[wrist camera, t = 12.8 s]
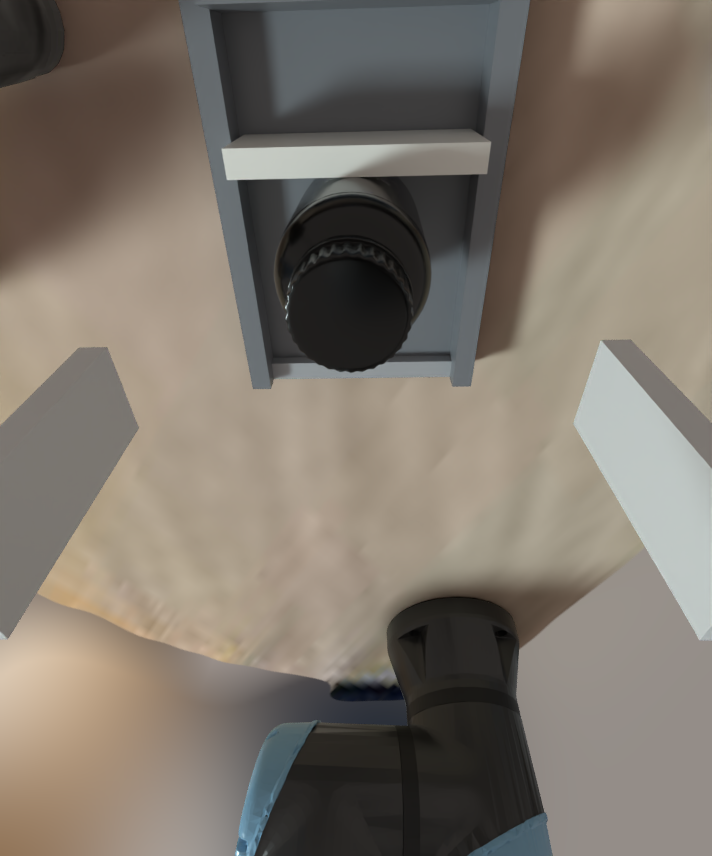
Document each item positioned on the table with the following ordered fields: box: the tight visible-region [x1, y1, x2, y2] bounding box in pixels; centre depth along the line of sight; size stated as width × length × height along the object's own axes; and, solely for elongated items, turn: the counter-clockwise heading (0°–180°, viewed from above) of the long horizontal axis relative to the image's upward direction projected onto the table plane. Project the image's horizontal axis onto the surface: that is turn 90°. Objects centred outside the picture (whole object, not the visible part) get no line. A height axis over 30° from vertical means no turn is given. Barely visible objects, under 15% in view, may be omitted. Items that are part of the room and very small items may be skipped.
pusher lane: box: [179, 0, 530, 389], centre depth 25 cm, size 20×15×5 cm
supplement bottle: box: [274, 176, 432, 373], centre depth 22 cm, size 7×7×12 cm
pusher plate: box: [222, 129, 491, 180], centre depth 22 cm, size 1×11×5 cm, turn 92°
